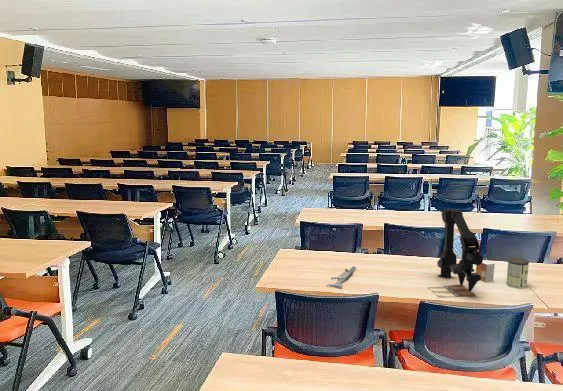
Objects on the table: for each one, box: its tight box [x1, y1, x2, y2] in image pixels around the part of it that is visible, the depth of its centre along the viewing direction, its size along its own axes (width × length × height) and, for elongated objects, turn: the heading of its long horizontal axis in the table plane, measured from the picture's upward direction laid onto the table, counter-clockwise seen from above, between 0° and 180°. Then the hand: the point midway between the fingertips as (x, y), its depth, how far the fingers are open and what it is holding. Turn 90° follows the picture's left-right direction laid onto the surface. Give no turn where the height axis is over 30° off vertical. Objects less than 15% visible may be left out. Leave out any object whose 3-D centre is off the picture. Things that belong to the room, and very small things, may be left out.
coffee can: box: [506, 257, 530, 289], centre depth 265 cm, size 10×10×14 cm
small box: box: [475, 259, 496, 283], centre depth 274 cm, size 8×6×10 cm
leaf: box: [447, 284, 476, 298], centre depth 254 cm, size 14×10×2 cm
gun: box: [326, 266, 357, 289], centre depth 278 cm, size 36×4×10 cm
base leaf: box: [427, 285, 460, 299], centre depth 253 cm, size 14×11×2 cm
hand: (465, 287), depth 254 cm, fingers open, 9 cm apart
